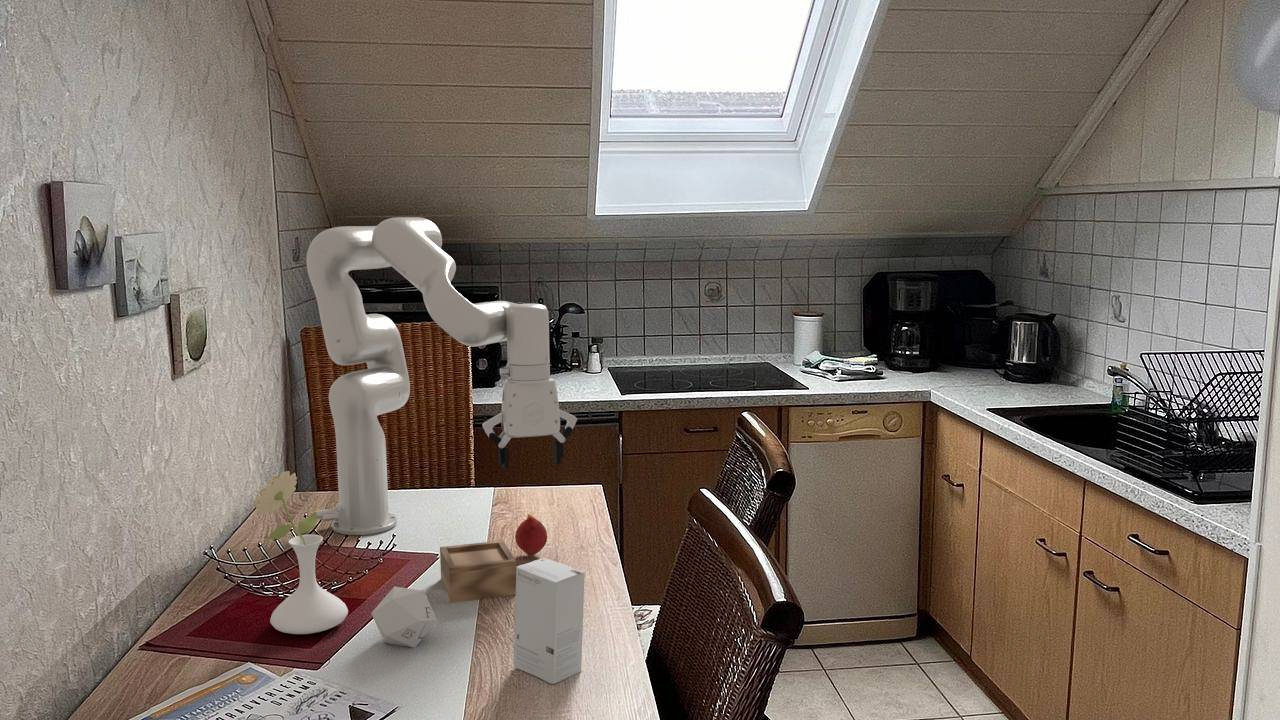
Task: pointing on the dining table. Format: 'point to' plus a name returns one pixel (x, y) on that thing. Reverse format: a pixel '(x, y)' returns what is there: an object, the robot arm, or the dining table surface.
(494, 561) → the walnut box
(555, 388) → the robot arm
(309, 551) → the flower in vase
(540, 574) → the skincare box
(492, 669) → the dining table surface
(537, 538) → the onion
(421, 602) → the die
